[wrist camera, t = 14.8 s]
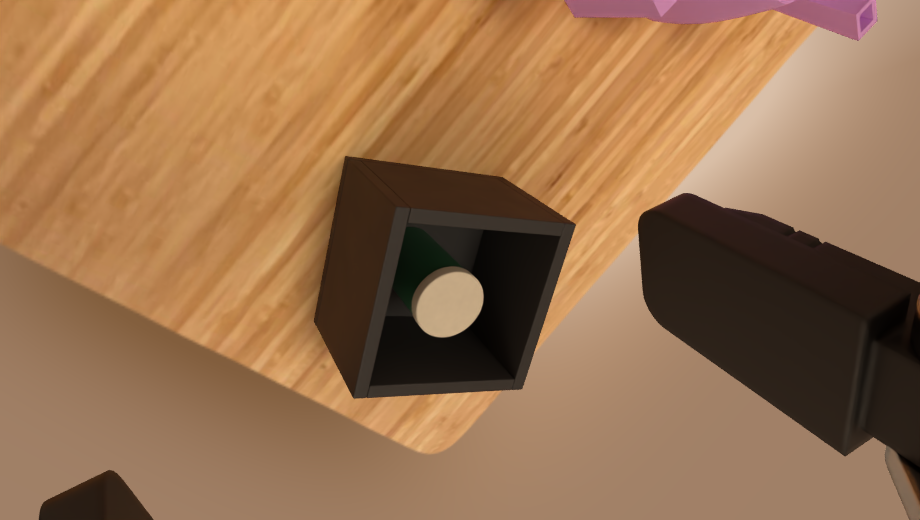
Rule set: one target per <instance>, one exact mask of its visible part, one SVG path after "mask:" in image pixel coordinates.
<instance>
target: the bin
mask: <svg viewBox="0 0 920 520" xmlns="http://www.w3.org/2000/svg"><path fill="white" fill-rule="evenodd" d="M575 226H576V224H574V223H573V222H571V221H570V220H568V219H567V218H565V217H563V216H562V215H560V214H559V213H557V212H556V211H554V210H553V209H551V208H549V207H548V206H546V205H545V204H543V203H542V202H540V201H539V200H537V199H536V198H534V197H532V196H531V195H529V194H528V193H526V192H525V191H523V190H522V189H520V188H518V187H517V186H515V185H514V184H512V183H511V182H509V181H508V180H506V179H505V178H503V177H496V176H489V175H481V174H474V173H467V172H459V171H452V170H444V169H437V168H430V167H422V166H415V165H407V164H400V163H392V162H385V161H378V160H370V159H363V158H355V157H348V156H345V161H344V166H343V171H342V176H341V182H340V187H339V192H338V197H337V203H336V208H335V213H334V218H333V224H332V229H331V234H330V239H329V245H328V250H327V255H326V260H325V266H324V271H323V276H322V281H321V287H320V292H319V297H318V302H317V308H316V313H315V318H314V323H315V325H316V326H317V328H318V330H319V332H320V334H321V336H322V338H323V340H324V342H325V344H326V346H327V348H328V350H329V352H330V353H331V355H332V357H333V359H334V361H335V363H336V365H337V367H338V369H339V371H340V373H341V375H342V377H343V379H344V381H345V383H346V385H347V387H348V389H349V391H350V393H351V395H352V397H353V398H366V397H367V398H375V397H392V396H410V395H428V394H446V393H464V392H481V391H499V390H511V389H512V390H519V389H522V388H523V385H524V382H525V379H526V376H527V373H528V370H529V367H530V364H531V360H532V357H533V354H534V351H535V348H536V345H537V342H538V339H539V336H540V333H541V330H542V327H543V324H544V321H545V318H546V315H547V312H548V308H549V305H550V302H551V299H552V296H553V293H554V290H555V287H556V284H557V281H558V278H559V275H560V272H561V269H562V266H563V263H564V259H565V256H566V253H567V250H568V247H569V244H570V241H571V238H572V235H573V232H574V229H575ZM406 227H416V228H420V229H422V230H424V231H425V232H427V233H428V234H429V235H430V236H431V237H432V238H433V239H434V240H435V241H436V242H437V243H438V244H439V245H440V246H441V247H442V248H443V249H444V250H445V251H446V252H447V253H448V254H449V255H450V256H451V257H452V258H453V259H455V260H456V261H457V262H458V263H459V264H460V265H461V266H462V267H463V268H464V269H466V270H468V271H469V272H470V273H471V274H472V275H473V276H474V277H475V278H476V279H478V281H479V282H480V284H481V286H482V289H483V305H482V308H481V311H480V313H479V315H478V316H477V318H476V319H475V321H474V322H473V323H472V324H471V325H470V326H469V327H468V328H466V329H465V330H464V331H462V332H460V333H458V334H456V335H453V336H450V337H435V336H431V335H429V334H427V333H426V332H424V331H423V330H422V329H421V328H420V326H419V325H418V324H417V322H416V321H415V319H414V317H413V314H412V313H411V312H410V310H409V309H408V308H407V307H406V305H405V304H404V303H403V301H402V300H401V299H400V297H399V296H398V295H397V294H396V292H395V291H394V290H393V288H392V286H393V281H394V277H395V273H396V268H397V264H398V260H399V255H400V251H401V247H402V243H403V238H404V234H405V230H406Z"/></svg>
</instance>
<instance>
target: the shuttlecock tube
mask: <svg viewBox="0 0 920 520" xmlns="http://www.w3.org/2000/svg"><path fill="white" fill-rule="evenodd" d="M392 288H393V290H394V291H395V292H396V294H397V295H398V296H399V297H400V299H401V300H402V301H403V303H404V304H405V305H406V307H407V308H408V309H409V310H410V312H411V313H412V314H413V317H414V319H415V321H416V322H417V324H418V325H419V326H420V328H421V329H422V330H423V331H424V332H426V333H427V334H429V335H431V336H435V337H450V336H453V335H456V334H458V333H460V332H462V331H464V330H465V329H466V328H468V327H469V326H470V325H471V324H472V323H473V322H474V321H475V319H476V318H477V316H478V315H479V313H480V311H481V308H482V305H483V289H482V286H481V284H480V282H479V281H478V279H476V278H475V277H474V276H473V275H472V274H471V273H470V272H469V271H468V270H466V269H464V268H463V267H462V266H461V265H460V264H459V263H458V262H457V261H456V260H455V259H453V258H452V257H451V256H450V255H449V254H448V253H447V252H446V251H445V250H444V249H443V248H442V247H441V246H440V245H439V244H438V243H437V242H436V241H435V240H434V239H433V238H432V237H431V236H430V235H429V234H428V233H427V232H425V231H424V230H422V229H420V228H416V227H406V230H405V234H404V238H403V243H402V247H401V251H400V255H399V260H398V264H397V268H396V273H395V277H394V281H393V286H392Z"/></svg>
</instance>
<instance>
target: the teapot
mask: <svg viewBox="0 0 920 520" xmlns="http://www.w3.org/2000/svg"><path fill="white" fill-rule="evenodd" d="M564 1H565V2H566V4H567V6H568V7H569V9H570V10H571V12H572V14H573V15H574V17H646V18H648V19H650V20H652V21H658V22H665V23H674V24H702V23H711V22H718V21H724V20H729V19H734V18H739V17H743V16H747V15H752V14H756V13H760V12H763V11H767V10H771V9H773V10H776V11H779V12H781V13H784V14H787V15H789V16H792V17H795V18H797V19H800V20H803V21H805V22H808V23H811V24H813V25H816V26H819V27H822V28H824V29H827V30H829V31H832V32H835V33H837V34H840V35H843V36H846V37H848V38H851V39H854V40H857V41H859V40H860V39H861V38H862V37H863V36H864V35H865V34H866V32H868V30H869V29H870V28H871V27H872V26H873V25H874V24H875V23H876V22H877V9H876V0H564Z"/></svg>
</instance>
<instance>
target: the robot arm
mask: <svg viewBox="0 0 920 520" xmlns="http://www.w3.org/2000/svg"><path fill="white" fill-rule="evenodd" d="M638 234H639V247H640V260H641V274H642V287H643V295H644V299H645V302H646V304H647V307H648V309H649V311H650V312H651V314H652V315H653V317H654V318H655V319H656V321H657V322H658V323H659V324H660V325H661V326H662V327H664V328H665V329H666V330H668V331H669V332H671V333H672V334H673V335H675V336H676V337H678V338H679V339H680V340H682V341H683V342H685V343H686V344H687V345H689V346H690V347H692V348H693V349H694V350H696V351H697V352H699V353H700V354H702V355H703V356H704V357H706V358H707V359H709V360H710V361H711V362H713V363H714V364H716V365H717V366H718V367H720V368H721V369H723V370H724V371H726V372H727V373H728V374H730V375H731V376H733V377H734V378H735V379H737V380H738V381H740V382H741V383H742V384H744V385H745V386H747V387H748V388H749V389H751V390H752V391H754V392H755V393H757V394H758V395H759V396H761V397H762V398H764V399H765V400H767V401H768V402H769V403H771V404H772V405H773V406H775V407H776V408H778V409H779V410H780V411H782V412H783V413H785V414H786V415H788V416H789V417H790V418H792V419H793V420H795V421H796V422H797V423H799V424H800V425H802V426H803V427H804V428H806V429H807V430H809V431H810V432H811V433H813V434H814V435H816V436H817V437H819V438H820V439H821V440H823V441H824V442H825V443H827V444H828V445H830V446H831V447H833V448H834V449H835V450H837V451H838V452H840V453H841V454H842V455H844V456H847V455H848V454H849V453H851V452H852V451H854V450H855V449H857V448H858V447H859V446H861V445H863V444H864V443H865V442H867V441H868V440H870V439H871V438H873V437H874V438H876V439H877V440H879V441H881V442H882V443H883V444H885V445H887V446H886V450H885V462H886V465H887V468H888V471H889V473H890V475H891V478H892V480H893V482H894V485H895V487H896V489H897V492H898V494H899V496H900V499H901V501H902V504H903V506H904V508H905V510H906V513H907V515H908V518H909V520H920V282H917V281H915V280H913V279H910V278H908V277H906V276H903V275H901V274H899V273H896V272H894V271H892V270H890V269H887V268H885V267H883V266H880V265H878V264H876V263H873V262H871V261H869V260H866V259H864V258H862V257H860V256H857V255H855V254H853V253H850V252H848V251H846V250H843V249H841V248H839V247H837V246H834V245H832V244H830V243H827V242H824V243H823V244H822V243H821V242H820V241H819V239H818V238H816V237H814V236H811V235H809V234H806V233H804V232H802V231H798V232H795V231H794V229H793V227H791V226H788V225H786V224H784V223H781V222H779V221H777V220H774V219H772V218H770V217H768V216H765V215H763V214H758V213H752V212H747V211H741V210H736V209H730V208H723V207H721V206H718V205H716V204H713V203H711V202H709V201H707V200H705V199H703V198H700V197H698V196H696V195H693V194H690V193H683V194H681V195H678V196H676V197H674V198H672V199H670V200H668V201H666V202H664V203H662V204H660V205H658V206H656V207H654V208H652V209H650V210H648V211H645V212H644V213H643V214H642V215H641V216H640V218H639V222H638ZM39 520H153V518H152V517H151V516H150V514H149V513H148V512H147V511H146V509H145V508H144V507H143V505H142V504H141V503H140V501H139V500H138V499H137V497H136V496H135V495H134V494H133V492H132V491H131V490H130V488H129V487H128V486H127V485H126V483H125V482H124V481H123V480H122V478H121V477H120V476H119V475H118V474H117V473H115V472H114V471H111V470H108V471H106V472H104V473H102V474H100V475H98V476H96V477H94V478H91V479H89V480H87V481H85V482H83V483H81V484H79V485H77V486H75V487H73V488H71V489H69V490H67V491H65V492H63V493H61V494H59V495H56V496H55V497H52V498H50V499H48V500H46V501H45V502H44V503H43V504H42V506H41V509H40V515H39Z"/></svg>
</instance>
